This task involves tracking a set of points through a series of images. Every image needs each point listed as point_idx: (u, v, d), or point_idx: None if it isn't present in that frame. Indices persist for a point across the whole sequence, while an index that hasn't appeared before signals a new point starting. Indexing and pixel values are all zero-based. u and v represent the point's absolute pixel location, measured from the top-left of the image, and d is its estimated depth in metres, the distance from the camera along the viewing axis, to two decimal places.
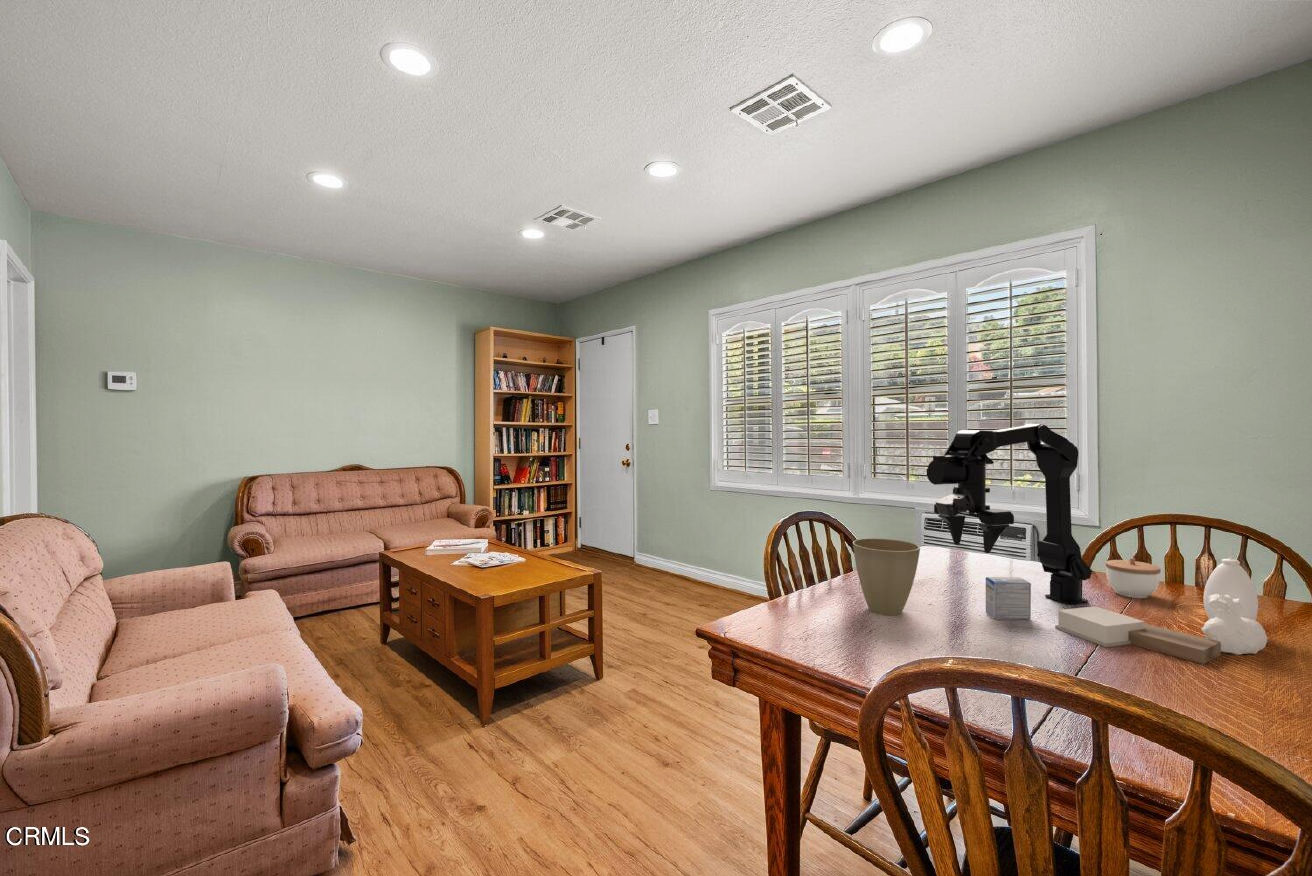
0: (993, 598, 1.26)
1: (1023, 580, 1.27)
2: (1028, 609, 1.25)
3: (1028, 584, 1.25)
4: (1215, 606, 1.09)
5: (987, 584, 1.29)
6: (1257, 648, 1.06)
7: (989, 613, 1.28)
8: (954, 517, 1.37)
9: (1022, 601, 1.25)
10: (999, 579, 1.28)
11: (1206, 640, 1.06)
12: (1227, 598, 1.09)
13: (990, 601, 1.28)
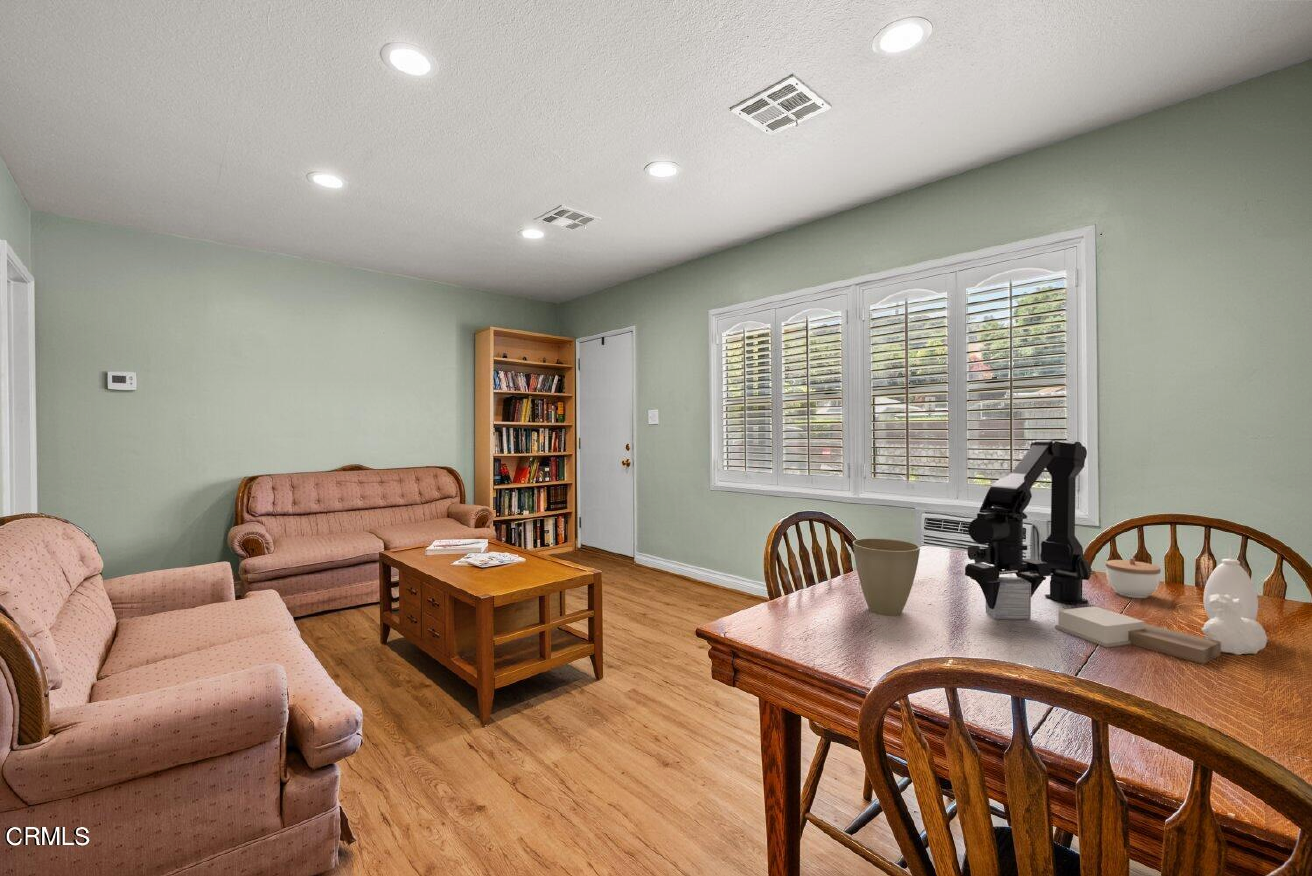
0: None
1: (1023, 580, 1.27)
2: (1028, 609, 1.25)
3: (1028, 584, 1.25)
4: (1215, 606, 1.09)
5: None
6: (1257, 648, 1.06)
7: (989, 613, 1.28)
8: (1024, 576, 1.29)
9: (1022, 601, 1.25)
10: (999, 579, 1.28)
11: (1206, 640, 1.06)
12: (1227, 598, 1.09)
13: None
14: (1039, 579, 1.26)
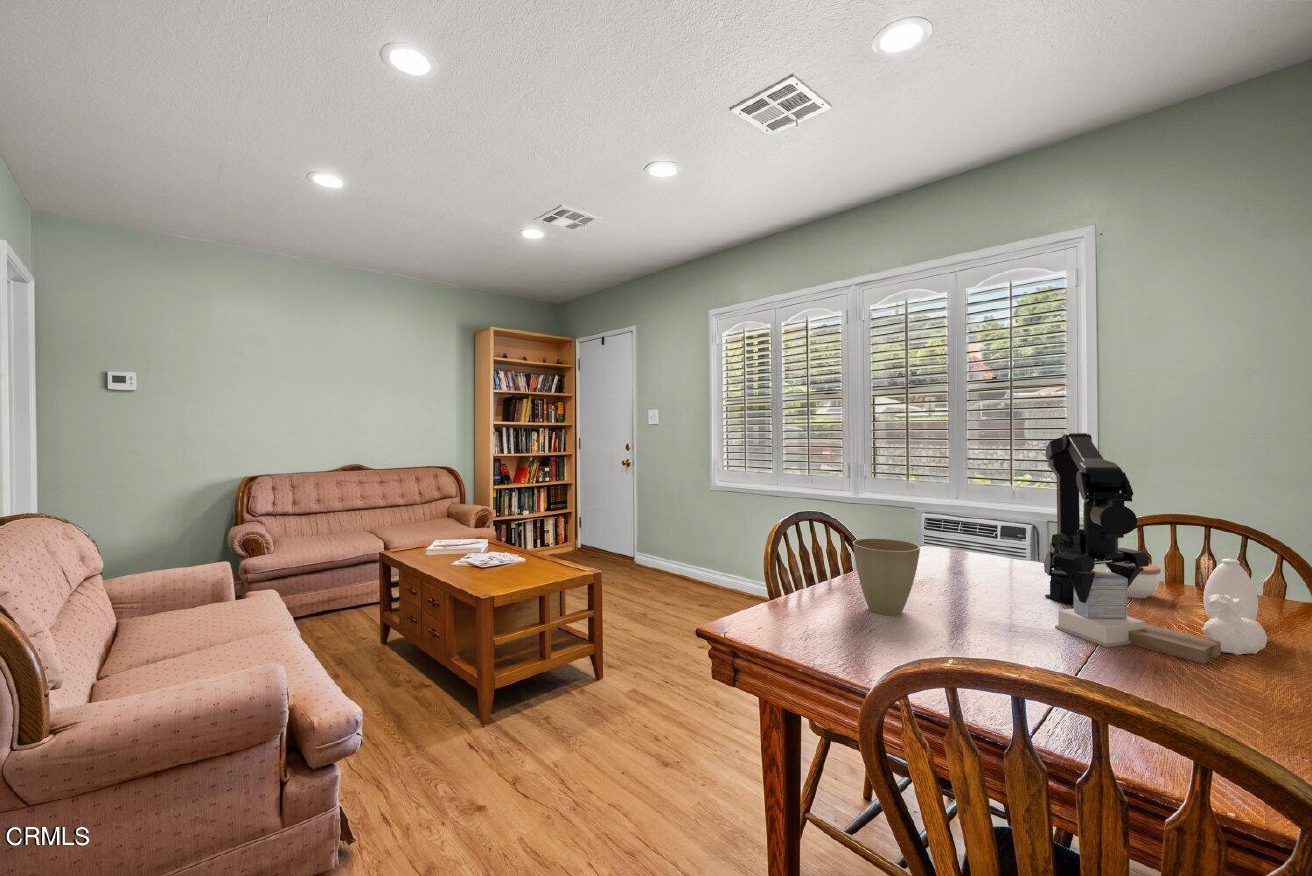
0: None
1: (1117, 575, 1.15)
2: (1124, 607, 1.14)
3: (1124, 579, 1.14)
4: (1215, 606, 1.09)
5: None
6: (1257, 648, 1.06)
7: (1079, 612, 1.17)
8: (1117, 566, 1.17)
9: (1118, 598, 1.14)
10: None
11: (1206, 640, 1.06)
12: (1227, 598, 1.09)
13: None
14: (1136, 570, 1.14)
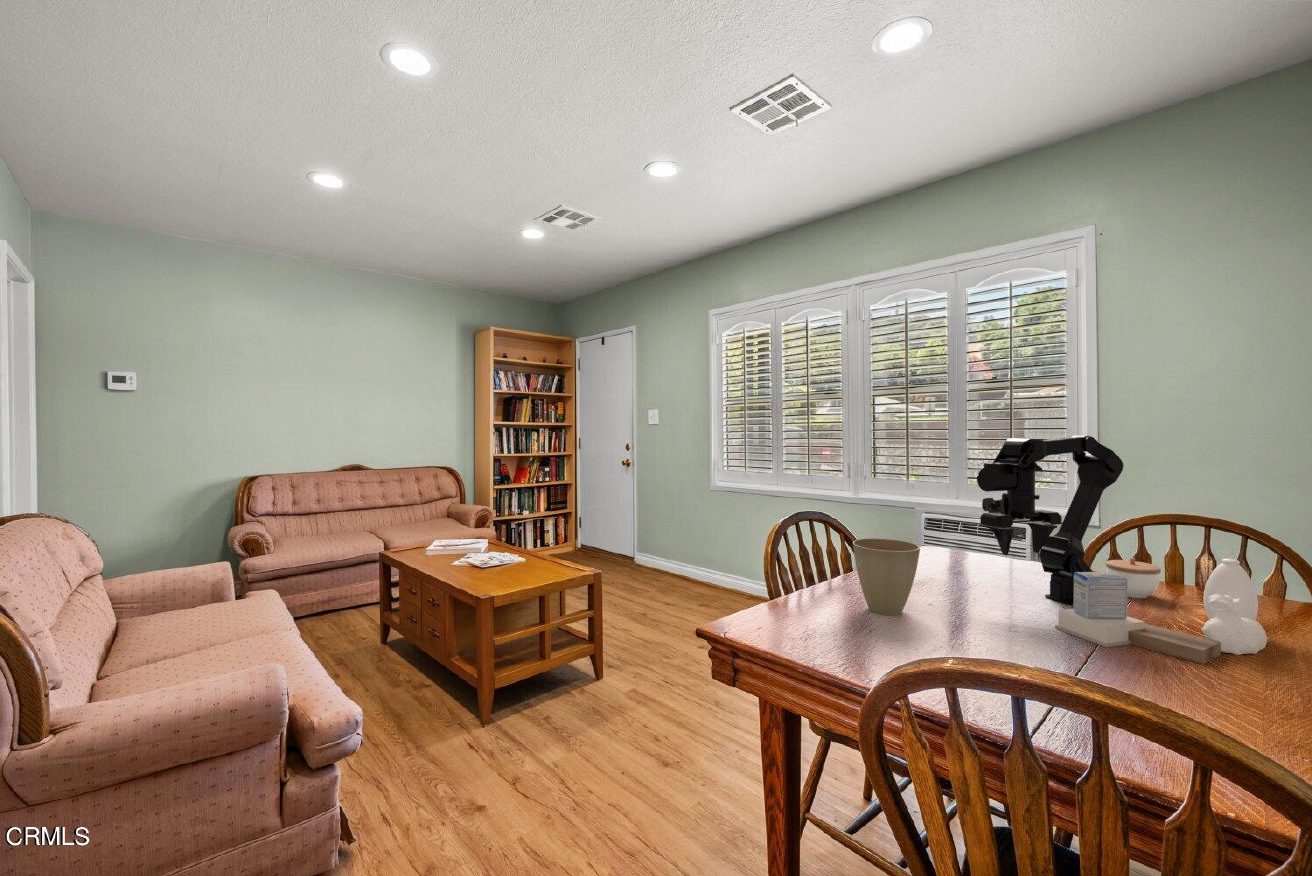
0: (1085, 595, 1.15)
1: (1117, 575, 1.15)
2: (1124, 607, 1.14)
3: (1124, 579, 1.14)
4: (1215, 606, 1.09)
5: (1076, 580, 1.17)
6: (1257, 648, 1.06)
7: (1079, 612, 1.17)
8: (1036, 525, 1.37)
9: (1118, 598, 1.14)
10: (1090, 574, 1.16)
11: (1206, 640, 1.06)
12: (1227, 598, 1.08)
13: (1081, 598, 1.16)
14: (1051, 527, 1.34)
